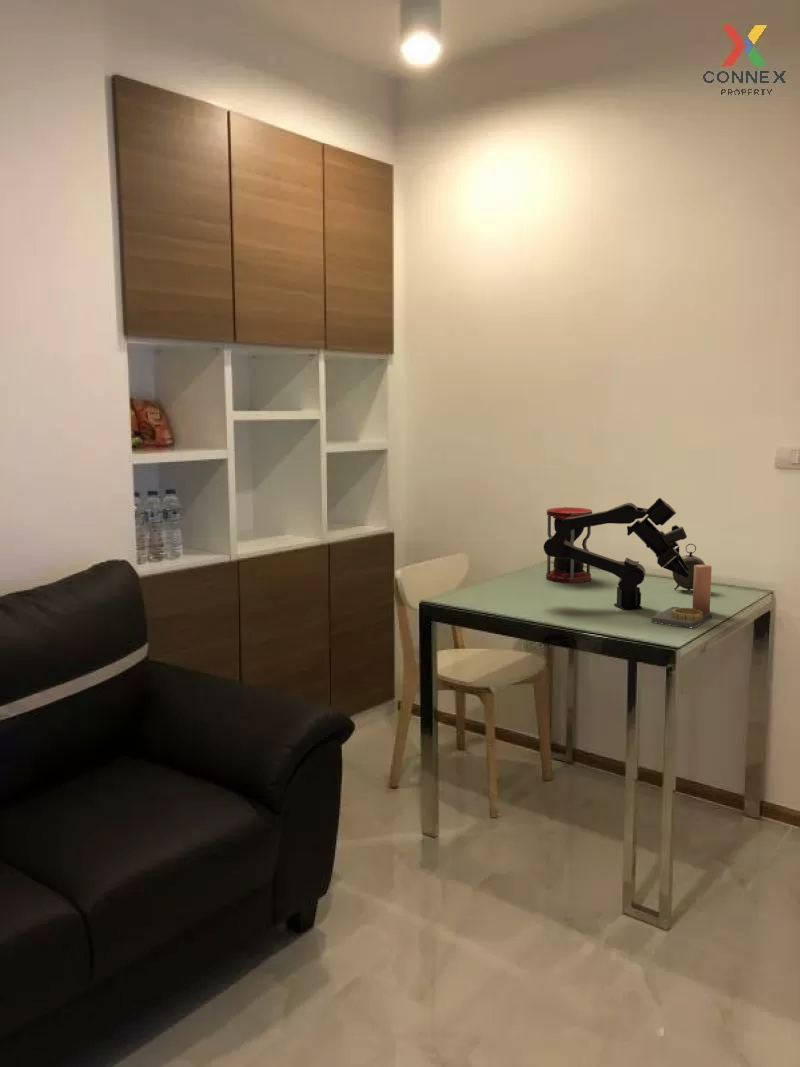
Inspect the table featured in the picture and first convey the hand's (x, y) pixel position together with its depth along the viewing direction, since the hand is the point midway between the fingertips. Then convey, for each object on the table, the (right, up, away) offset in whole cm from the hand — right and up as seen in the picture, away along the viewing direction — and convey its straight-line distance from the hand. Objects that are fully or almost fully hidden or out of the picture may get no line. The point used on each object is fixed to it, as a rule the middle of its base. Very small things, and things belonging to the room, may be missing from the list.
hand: (687, 573), depth 268 cm
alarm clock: (+9, -8, +28) cm, 30 cm away
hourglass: (-26, -4, +52) cm, 58 cm away
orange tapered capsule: (+4, -12, 0) cm, 12 cm away
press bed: (-5, -13, -9) cm, 17 cm away
